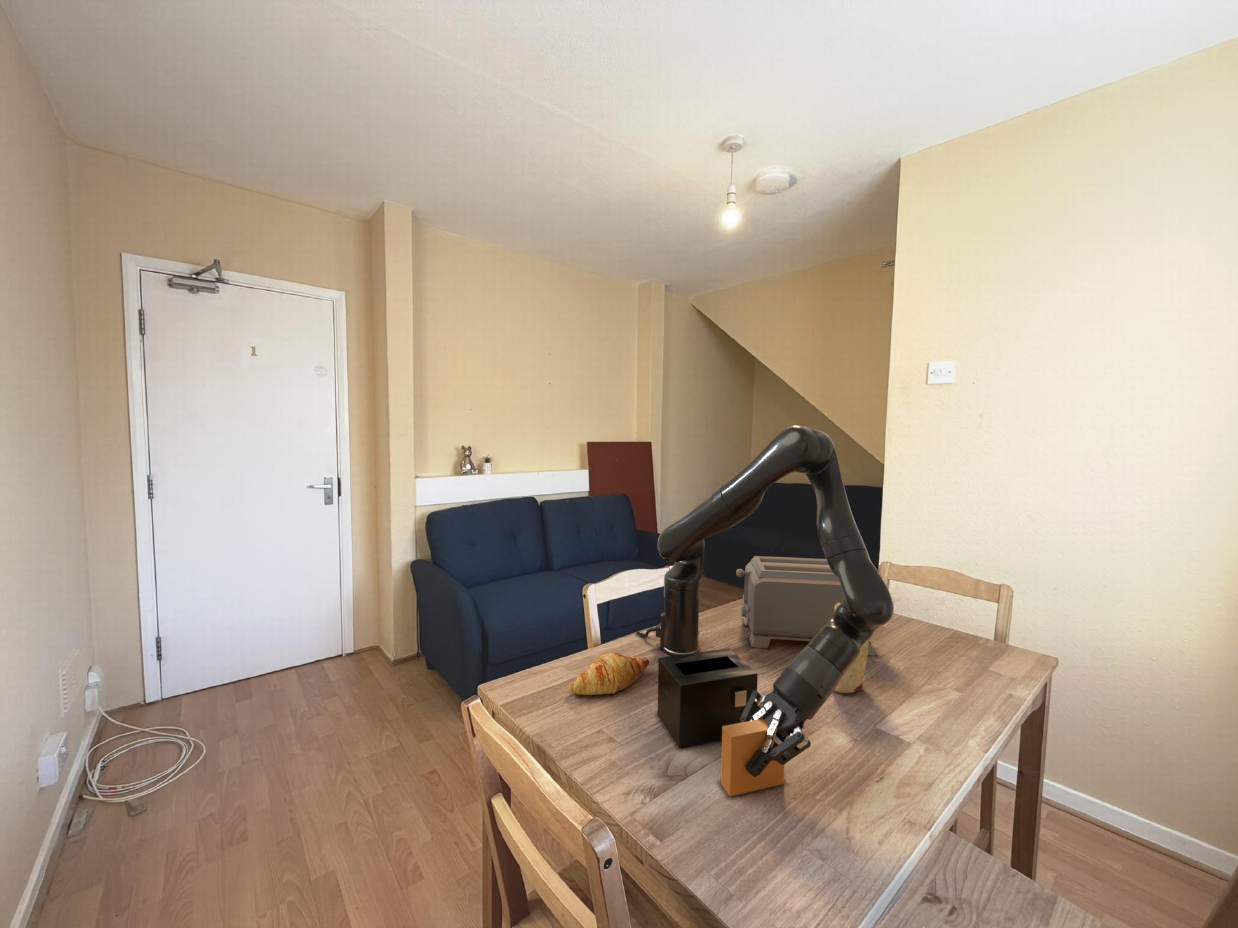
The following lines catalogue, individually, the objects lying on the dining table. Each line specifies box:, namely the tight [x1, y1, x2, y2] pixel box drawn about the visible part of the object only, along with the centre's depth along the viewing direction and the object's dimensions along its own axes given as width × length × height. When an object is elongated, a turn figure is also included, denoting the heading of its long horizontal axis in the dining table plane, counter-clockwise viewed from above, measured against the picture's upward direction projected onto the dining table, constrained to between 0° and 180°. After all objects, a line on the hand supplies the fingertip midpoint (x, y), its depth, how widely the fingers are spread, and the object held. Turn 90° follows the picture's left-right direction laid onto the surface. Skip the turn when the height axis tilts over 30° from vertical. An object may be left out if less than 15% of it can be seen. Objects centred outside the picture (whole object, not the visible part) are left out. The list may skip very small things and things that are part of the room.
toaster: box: [735, 555, 876, 656], centre depth 137 cm, size 19×35×20 cm, turn 82°
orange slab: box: [720, 719, 785, 797], centre depth 80 cm, size 3×10×10 cm, turn 107°
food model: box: [833, 603, 869, 694], centre depth 109 cm, size 10×7×20 cm
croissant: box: [568, 652, 650, 696], centre depth 111 cm, size 21×10×8 cm, turn 125°
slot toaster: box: [657, 647, 759, 749], centre depth 95 cm, size 12×16×12 cm
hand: (742, 762), depth 79 cm, fingers open, 4 cm apart
